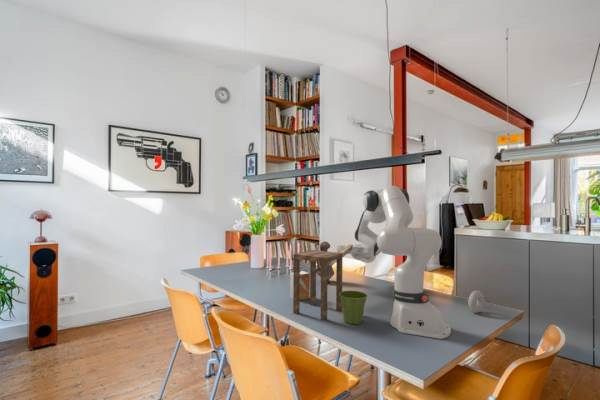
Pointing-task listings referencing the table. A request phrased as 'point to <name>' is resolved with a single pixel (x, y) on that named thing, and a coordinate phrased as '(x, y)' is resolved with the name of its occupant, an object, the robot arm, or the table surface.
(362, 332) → the table surface
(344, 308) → the plant pot
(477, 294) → the donut
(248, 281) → the table surface
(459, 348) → the table surface
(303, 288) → the small box
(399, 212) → the robot arm
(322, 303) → the stool
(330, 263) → the slat
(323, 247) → the clay figurine
